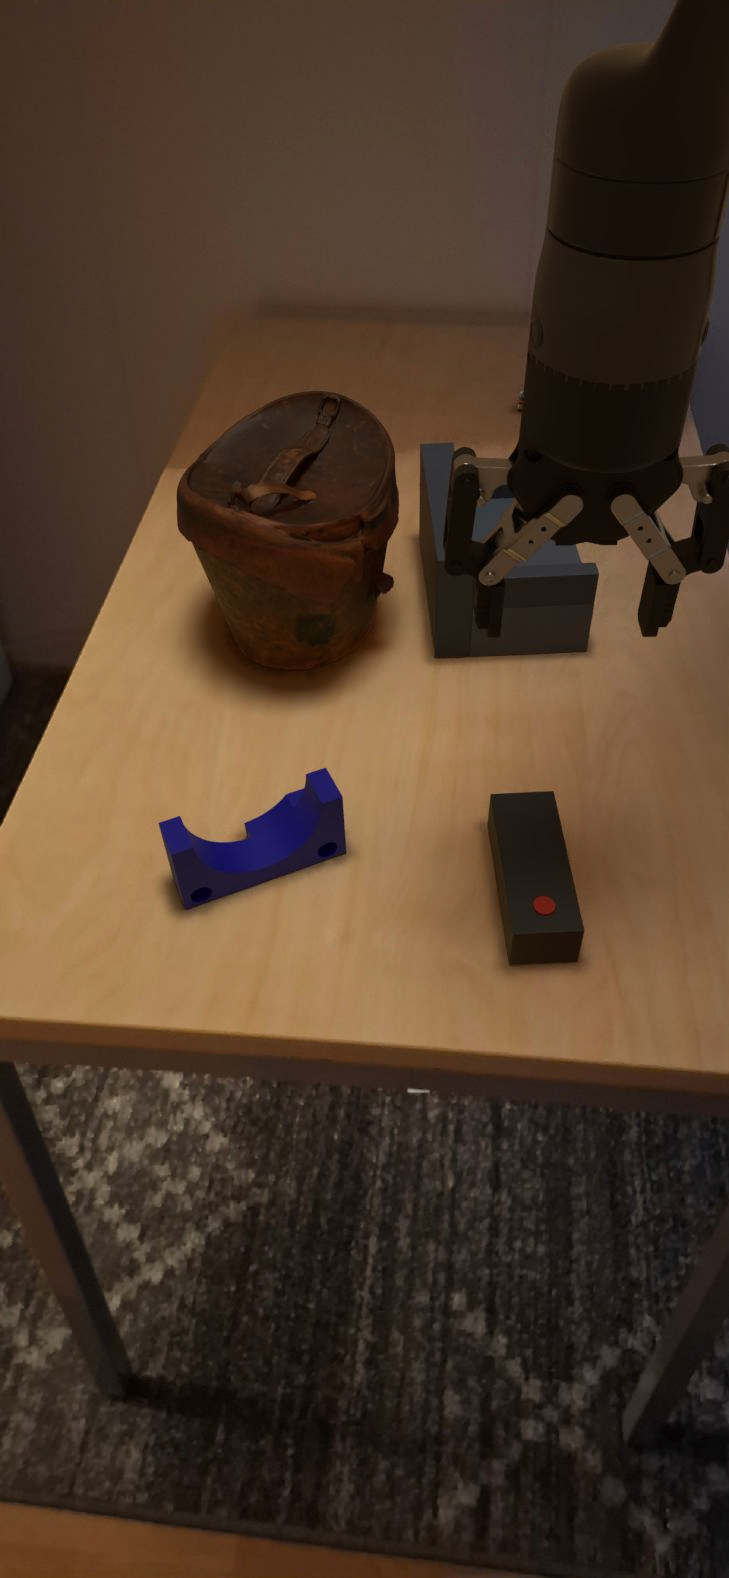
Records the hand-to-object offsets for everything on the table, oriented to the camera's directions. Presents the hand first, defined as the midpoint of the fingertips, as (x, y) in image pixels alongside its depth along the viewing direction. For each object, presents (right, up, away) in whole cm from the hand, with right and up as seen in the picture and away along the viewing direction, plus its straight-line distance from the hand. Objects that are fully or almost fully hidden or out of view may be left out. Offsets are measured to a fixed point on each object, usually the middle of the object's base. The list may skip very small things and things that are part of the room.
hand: (568, 628), depth 58 cm
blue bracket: (-19, -14, +17) cm, 29 cm away
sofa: (+1, +9, +37) cm, 38 cm away
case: (-17, +5, +35) cm, 39 cm away
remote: (0, -16, +14) cm, 21 cm away
